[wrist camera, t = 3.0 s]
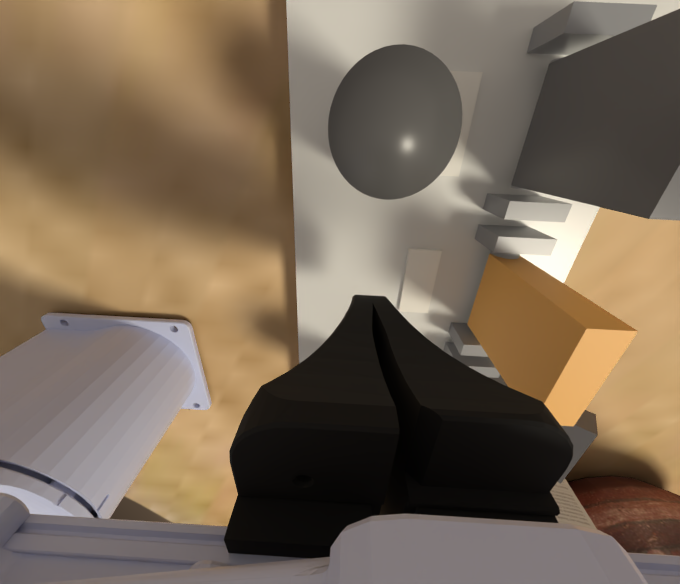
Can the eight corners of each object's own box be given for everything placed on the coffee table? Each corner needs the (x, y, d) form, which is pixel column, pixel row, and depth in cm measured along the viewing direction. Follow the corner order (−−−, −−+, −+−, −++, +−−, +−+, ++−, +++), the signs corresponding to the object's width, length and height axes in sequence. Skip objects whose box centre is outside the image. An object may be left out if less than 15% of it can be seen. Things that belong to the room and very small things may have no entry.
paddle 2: (437, 416, 18) (559, 484, 14) (452, 367, 16) (598, 433, 12) (444, 402, 19) (560, 463, 15) (459, 355, 17) (596, 413, 13)
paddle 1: (503, 186, 12) (646, 223, 6) (539, 64, 10) (801, -50, 4) (535, 187, 12) (709, 226, 6) (578, 65, 10) (894, -47, 4)
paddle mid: (462, 319, 15) (531, 425, 9) (484, 247, 13) (588, 325, 8) (487, 320, 15) (572, 428, 9) (513, 248, 13) (640, 328, 7)
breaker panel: (303, 409, 21) (283, 521, 15) (291, -38, 10) (187, -359, 4) (484, 420, 21) (542, 537, 15) (678, -22, 10) (1272, -329, 4)
